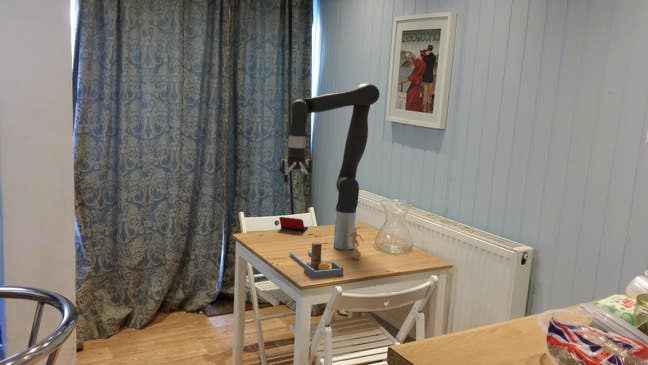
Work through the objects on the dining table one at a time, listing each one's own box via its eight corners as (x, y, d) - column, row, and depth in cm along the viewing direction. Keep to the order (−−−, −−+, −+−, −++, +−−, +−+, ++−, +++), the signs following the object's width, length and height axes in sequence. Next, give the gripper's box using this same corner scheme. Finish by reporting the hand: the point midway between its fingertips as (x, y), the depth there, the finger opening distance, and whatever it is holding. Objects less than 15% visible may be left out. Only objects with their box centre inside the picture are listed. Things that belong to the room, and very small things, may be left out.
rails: (310, 254, 249) (310, 250, 249) (329, 268, 231) (329, 264, 231) (289, 255, 245) (289, 252, 245) (307, 270, 227) (307, 266, 227)
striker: (319, 263, 235) (321, 241, 234) (327, 269, 229) (328, 246, 227) (306, 265, 233) (307, 242, 231) (313, 270, 226) (315, 247, 225)
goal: (333, 268, 232) (334, 261, 231) (342, 275, 224) (343, 268, 223) (304, 271, 226) (304, 263, 226) (312, 278, 219) (312, 270, 218)
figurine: (350, 261, 241) (352, 234, 239) (342, 257, 247) (344, 231, 244) (366, 259, 246) (368, 233, 244) (358, 255, 251) (360, 229, 249)
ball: (330, 274, 224) (326, 271, 228) (331, 263, 224) (326, 260, 227) (320, 275, 222) (315, 272, 226) (320, 264, 222) (316, 261, 226)
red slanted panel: (308, 229, 293) (309, 215, 291) (302, 234, 282) (302, 219, 281) (285, 226, 296) (286, 212, 295) (278, 230, 286) (278, 216, 284)
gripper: (284, 147, 242) (282, 184, 245) (315, 147, 248) (313, 183, 251) (278, 145, 249) (277, 181, 251) (308, 145, 255) (306, 180, 257)
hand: (295, 182), depth 251 cm, fingers open, 8 cm apart
